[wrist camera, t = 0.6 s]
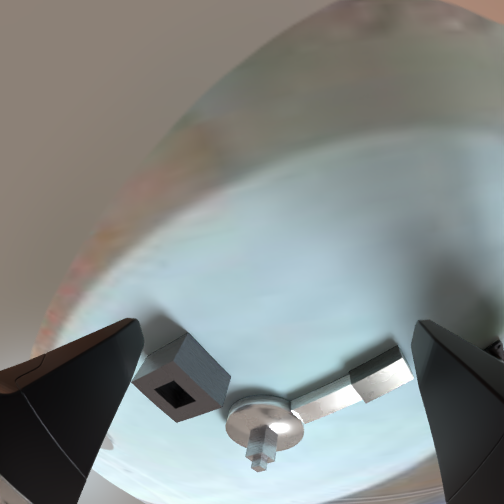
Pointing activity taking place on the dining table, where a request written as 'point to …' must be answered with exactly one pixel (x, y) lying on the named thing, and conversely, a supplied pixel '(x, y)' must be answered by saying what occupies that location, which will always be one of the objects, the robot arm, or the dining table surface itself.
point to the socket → (183, 379)
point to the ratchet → (309, 407)
